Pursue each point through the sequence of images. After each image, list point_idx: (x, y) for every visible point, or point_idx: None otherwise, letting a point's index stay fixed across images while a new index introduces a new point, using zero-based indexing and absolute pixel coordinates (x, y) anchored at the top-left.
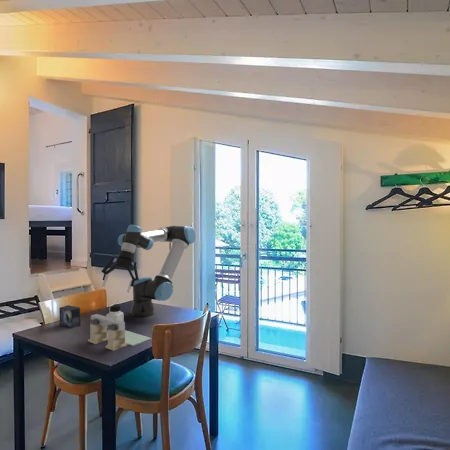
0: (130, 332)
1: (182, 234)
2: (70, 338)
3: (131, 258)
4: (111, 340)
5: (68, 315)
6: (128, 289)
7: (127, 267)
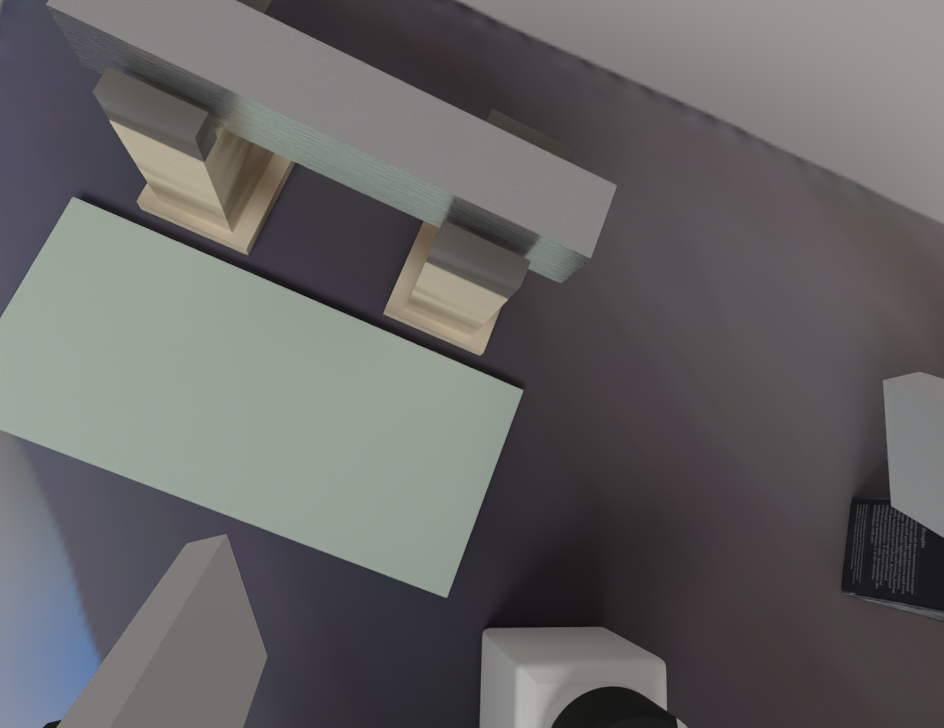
0: (258, 511)
1: None
2: (697, 275)
3: None
4: None
5: None
6: (180, 578)
7: None
